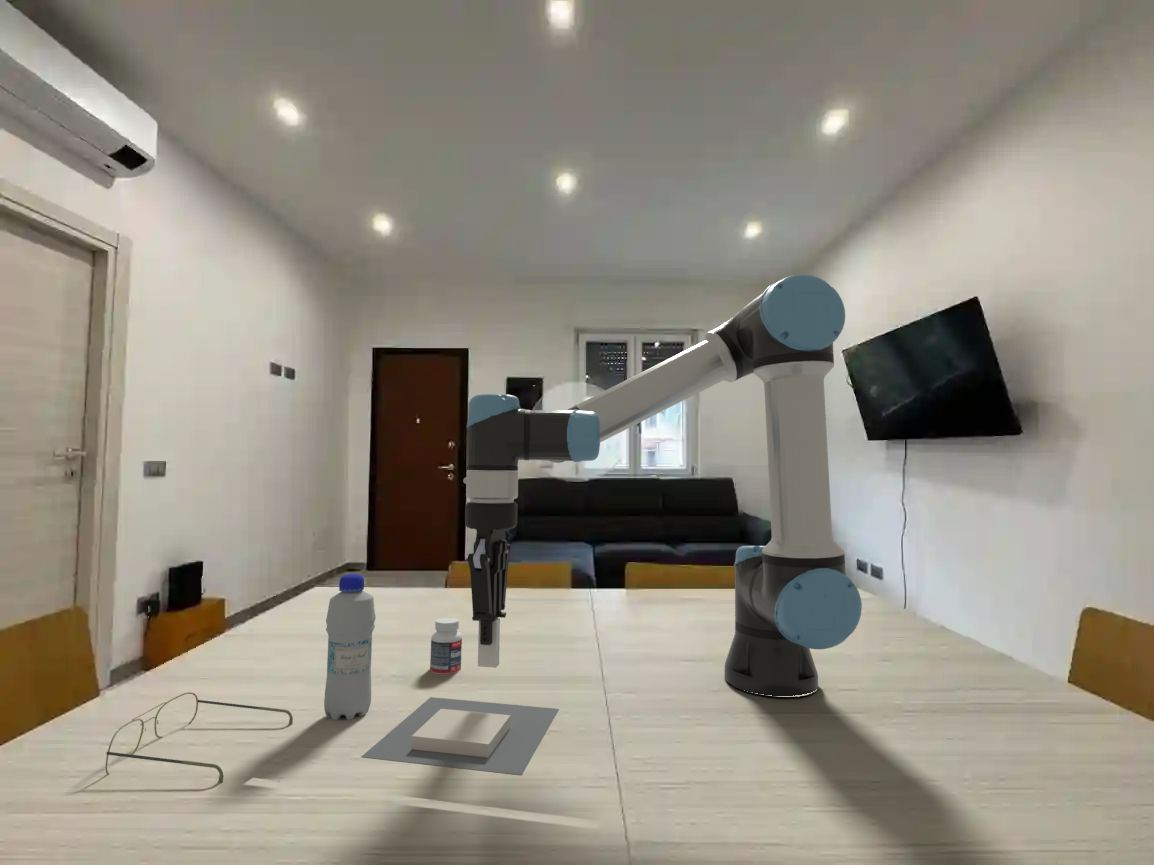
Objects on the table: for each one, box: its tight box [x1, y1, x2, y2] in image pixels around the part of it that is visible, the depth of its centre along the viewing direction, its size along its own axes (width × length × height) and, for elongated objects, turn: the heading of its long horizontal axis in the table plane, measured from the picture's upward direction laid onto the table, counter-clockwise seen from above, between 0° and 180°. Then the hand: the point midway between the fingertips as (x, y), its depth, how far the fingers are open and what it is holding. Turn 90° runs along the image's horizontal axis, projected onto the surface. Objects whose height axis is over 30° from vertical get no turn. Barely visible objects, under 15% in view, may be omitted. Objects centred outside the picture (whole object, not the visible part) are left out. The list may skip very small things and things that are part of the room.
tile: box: [411, 709, 511, 758], centre depth 80 cm, size 10×2×9 cm
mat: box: [360, 696, 560, 776], centre depth 83 cm, size 20×20×1 cm
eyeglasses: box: [104, 691, 294, 784], centre depth 78 cm, size 16×15×5 cm
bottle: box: [323, 573, 376, 721], centre depth 89 cm, size 7×7×20 cm
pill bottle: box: [429, 617, 463, 675], centre depth 108 cm, size 5×5×9 cm
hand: (488, 665), depth 89 cm, fingers closed
